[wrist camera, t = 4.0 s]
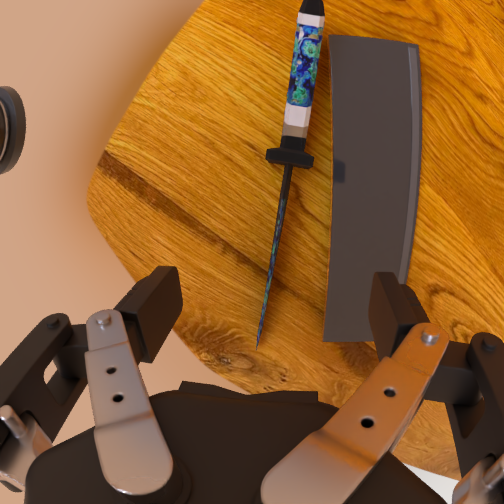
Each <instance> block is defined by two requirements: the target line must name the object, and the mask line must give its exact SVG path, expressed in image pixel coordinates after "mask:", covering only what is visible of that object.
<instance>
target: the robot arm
mask: <svg viewBox="0 0 504 504" xmlns="http://www.w3.org/2000/svg"><path fill="white" fill-rule="evenodd" d="M9 140H10V117H9V112H8V109H7V106H6V104H5V102H4V101H3V100H2V99H1V98H0V162H1V161H2V160H3V158H4V157H5V154H6V152H7V149H8V145H9ZM182 306H183V299H182V293H181V287H180V281H179V274H178V270H177V268H176V267H175V266H157V267H156V269H155V270H154V271H153V272H152V273H151V274H150V275H149V276H147V277H145V278H143V279H142V280H140V281H138V282H137V283H136V284H135V285H134V286H133V287H132V290H130V291H129V292H128V293H127V295H125V296H124V297H123V299H122V300H121V301H120V302H119V303H118V304H117V305H116V306H115V308H114V309H113V310H112V309H111V310H110V309H108V310H102V311H99V312H97V313H95V314H93V315H92V316H90V317H89V318H88V320H87V322H86V324H78V325H71V323H70V320H69V317H68V316H67V315H66V314H63V313H56V314H52V315H50V316H47V317H46V318H44V319H43V320H42V321H41V322H40V323H39V324H38V325H37V326H36V327H35V328H34V329H33V330H32V331H31V332H30V333H29V334H28V335H27V337H26V338H25V339H24V340H23V341H22V342H21V343H20V344H19V345H18V346H17V348H16V349H15V350H14V351H13V352H12V353H11V354H10V355H9V357H8V358H7V359H6V360H5V361H4V362H3V364H2V365H1V366H0V482H1V483H2V484H3V485H5V486H6V487H7V488H8V489H9V490H11V491H13V492H22V491H24V492H25V499H24V504H447V503H446V501H445V500H444V499H443V498H442V497H441V496H440V495H439V494H437V493H436V492H435V491H434V490H433V489H431V488H430V487H429V486H428V485H427V484H426V483H424V482H423V481H422V480H421V479H420V478H419V477H418V476H416V475H415V474H414V473H413V472H412V471H411V470H409V469H408V468H407V467H406V466H405V465H404V464H403V463H402V462H401V461H399V460H398V459H397V458H396V457H395V456H394V455H393V454H392V453H393V451H394V450H395V448H396V447H397V445H398V443H399V442H400V440H401V438H402V437H403V435H404V434H405V432H406V430H407V429H408V427H409V425H410V424H411V422H412V421H413V419H414V417H415V415H416V414H417V412H418V410H419V409H420V407H421V405H422V403H423V401H424V399H425V400H431V401H437V402H444V403H445V406H446V409H447V413H448V417H449V421H450V425H451V429H452V433H453V437H454V442H455V446H456V451H457V456H458V461H459V466H460V471H461V477H462V479H461V480H460V481H459V482H458V484H457V485H456V486H455V488H454V491H453V495H452V504H504V343H503V341H502V340H501V339H500V338H498V337H497V336H495V335H493V334H490V333H485V332H481V333H477V334H475V335H474V336H473V337H472V339H471V342H470V344H466V343H459V342H454V341H450V340H449V335H448V333H447V332H446V331H445V330H444V329H443V328H442V327H440V326H438V325H435V324H432V323H431V322H430V321H429V319H428V317H427V315H426V313H425V311H424V309H423V307H422V306H421V304H420V302H419V300H417V296H416V294H415V293H414V291H413V290H412V289H411V288H409V287H408V286H407V285H406V284H399V282H398V280H397V278H396V276H395V274H394V272H375V273H374V276H373V282H372V288H371V295H370V301H369V308H368V318H369V323H370V327H371V330H372V334H373V338H374V342H375V346H376V350H377V354H378V358H379V362H380V363H379V364H378V365H377V366H376V368H375V369H374V370H373V371H372V372H371V374H370V375H369V376H368V377H367V378H366V380H365V381H364V382H363V383H362V384H361V386H360V387H359V388H358V389H357V390H356V391H355V393H354V394H353V395H352V396H351V397H350V398H349V399H348V400H347V402H346V403H345V404H344V405H343V406H342V407H341V408H340V409H339V408H337V407H335V406H332V405H330V404H326V403H323V402H319V401H318V391H285V390H283V391H276V392H268V393H260V394H252V395H245V394H241V393H238V392H235V391H231V390H228V389H225V388H222V387H219V386H216V385H210V384H202V383H195V382H188V381H182V383H181V385H180V387H179V390H172V391H166V392H162V393H158V394H156V395H152V396H150V397H149V395H148V392H147V390H146V387H145V384H144V381H143V379H142V376H141V373H140V370H139V368H138V365H139V363H140V362H145V363H152V362H153V361H154V359H155V357H156V355H157V354H158V352H159V350H160V348H161V347H162V345H163V343H164V341H165V340H166V338H167V336H168V334H169V333H170V331H171V329H172V327H173V326H174V324H175V322H176V320H177V319H178V317H179V315H180V314H181V311H182ZM52 360H53V362H54V364H55V365H56V367H57V371H56V372H55V374H54V375H53V376H52V378H51V379H50V381H49V382H48V383H47V385H46V383H45V381H44V371H45V369H46V368H47V366H48V365H49V364H50V362H51V361H52ZM87 384H88V386H89V392H90V398H91V404H92V410H93V415H94V421H95V426H94V427H92V428H90V429H88V430H86V431H84V432H82V433H80V434H78V435H76V436H74V437H72V438H70V439H68V440H66V441H64V442H62V443H60V444H58V445H56V446H54V447H53V446H52V443H53V441H54V440H55V438H56V436H57V434H58V432H59V431H60V429H61V427H62V426H63V424H64V422H65V420H66V419H67V417H68V415H69V414H70V412H71V410H72V408H73V407H74V405H75V403H76V402H77V400H78V398H79V397H80V395H81V394H82V392H83V390H84V389H85V387H86V385H87ZM482 396H483V397H482ZM483 399H484V400H483Z"/></svg>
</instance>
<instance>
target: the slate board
mask: <svg viewBox="0 0 504 504" xmlns="http://www.w3.org/2000/svg"><path fill="white" fill-rule="evenodd" d="M327 52H328V69H329V89H330V121H331V192H330V225H329V247H328V264H327V279H326V293H325V305H324V317H323V327H322V340H323V342H363V341H374V338H373V334H372V330H371V327H370V323H369V318H368V308H369V301H370V295H371V288H372V282H373V276H374V273H375V272H394V274H395V276H396V278H397V280H398V282H399V284H406V282H407V276H408V271H409V265H410V259H411V253H412V246H413V240H414V232H415V225H416V216H417V207H418V197H419V186H420V171H421V152H422V90H421V71H420V57H419V47H418V45H417V44H412V43H406V42H400V41H393V40H386V39H378V38H369V37H359V36H347V35H328V37H327Z"/></svg>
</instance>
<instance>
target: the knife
mask: <svg viewBox="0 0 504 504" xmlns="http://www.w3.org/2000/svg"><path fill="white" fill-rule="evenodd" d="M324 18H325V13H324V5H323V1H322V0H303V3H302V5H301V8H300V10H299V13H298V17H297V29H296V32H295V44H294V51H293V59H292V66H291V74H290V81H289V88H288V92H287V103H286V109H285V112H284V114H285V117H284V124H283V131H282V138H281V144H280V148H271V149H267V152H266V158H265V159H266V160H267V161H268V162H269V163H275V164H281V165H285V168H284V174H283V180H282V187H281V193H280V199H279V205H278V211H277V218H276V225H275V232H274V238H273V245H272V252H271V258H270V265H269V271H268V278H267V284H266V290H265V297H264V303H263V307H262V314H261V320H260V323H259V329H258V336H257V345H256V350H257V346H258V343H259V339H260V336H261V332H262V327H263V319H264V315H265V311H266V306H267V300H268V295H269V291H270V286H271V281H272V276H273V271H274V266H275V261H276V257H277V252H278V247H279V242H280V237H281V232H282V227H283V221H284V216H285V211H286V205H287V200H288V194H289V188H290V182H291V176H292V170H293V167H298V168H304V169H310V168H311V167H313V161H314V157H313V156H311V155H309V154H307V153H305V152H304V149H305V143H306V137H307V131H308V125H309V120H310V113H311V106H312V102H313V94H314V88H315V81H316V75H317V68H318V61H319V54H320V47H321V42H322V37H323V36H322V33H323V28H324V23H325V22H324Z"/></svg>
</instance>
